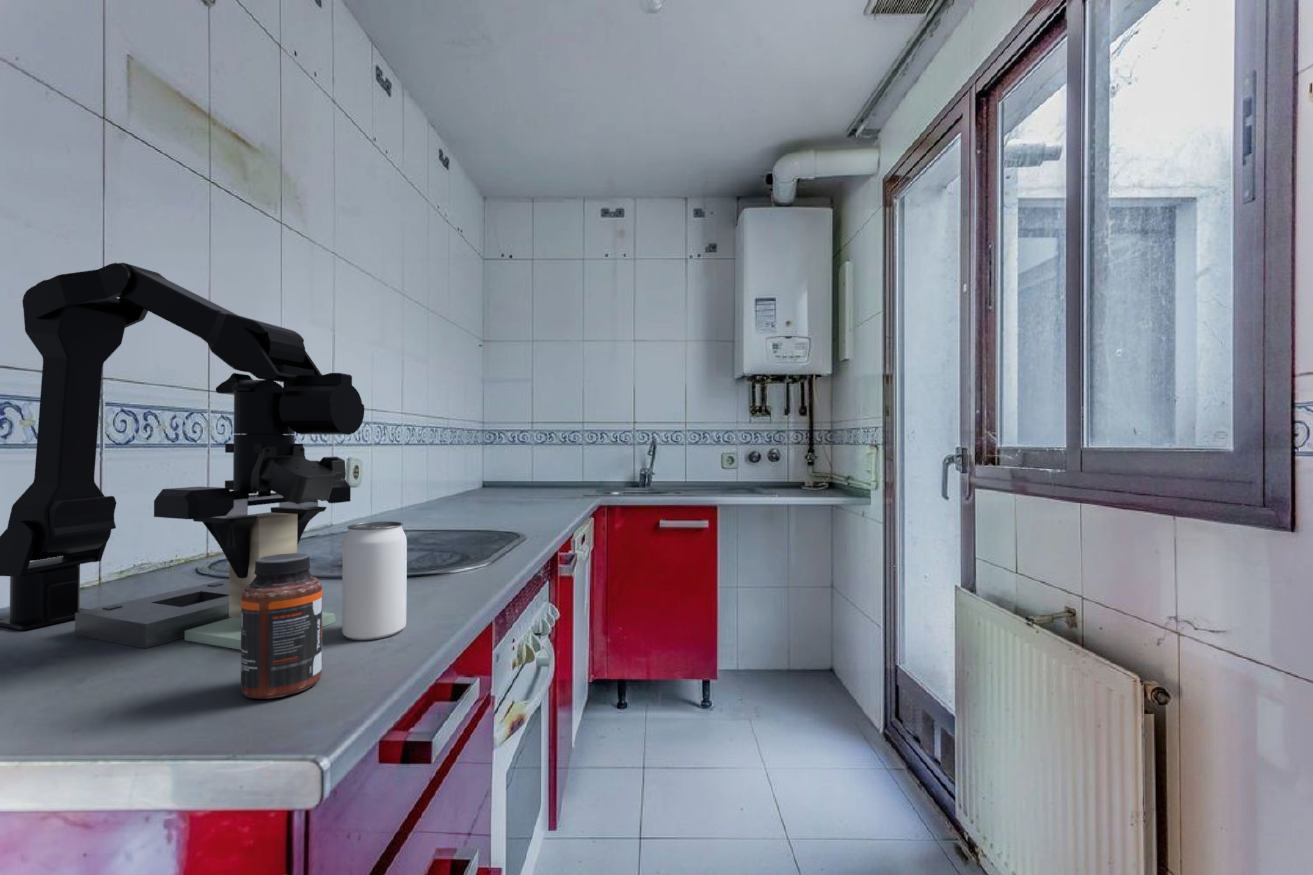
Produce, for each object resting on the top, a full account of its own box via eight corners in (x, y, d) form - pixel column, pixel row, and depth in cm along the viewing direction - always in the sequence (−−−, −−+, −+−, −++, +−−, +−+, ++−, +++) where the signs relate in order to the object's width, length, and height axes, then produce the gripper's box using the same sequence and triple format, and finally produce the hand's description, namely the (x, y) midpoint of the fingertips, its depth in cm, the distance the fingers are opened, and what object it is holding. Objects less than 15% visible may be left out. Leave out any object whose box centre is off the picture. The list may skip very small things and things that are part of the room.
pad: (184, 640, 61) (184, 630, 61) (274, 613, 71) (274, 605, 71) (250, 651, 58) (250, 641, 58) (335, 622, 68) (335, 613, 68)
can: (380, 643, 61) (381, 529, 61) (328, 639, 62) (328, 528, 62) (418, 624, 67) (418, 521, 67) (369, 621, 68) (370, 520, 68)
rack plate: (75, 635, 63) (75, 611, 63) (226, 597, 78) (226, 578, 78) (145, 648, 59) (145, 623, 59) (290, 606, 74) (290, 586, 74)
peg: (229, 616, 63) (229, 516, 63) (268, 605, 67) (269, 512, 68) (258, 620, 62) (258, 518, 62) (296, 609, 66) (297, 513, 66)
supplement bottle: (338, 678, 52) (339, 552, 52) (274, 707, 46) (276, 566, 46) (289, 669, 54) (290, 548, 54) (223, 696, 48) (224, 560, 48)
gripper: (229, 433, 53) (227, 601, 53) (385, 435, 71) (384, 562, 71) (151, 433, 57) (149, 590, 57) (318, 435, 75) (317, 555, 74)
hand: (263, 573), depth 65 cm, fingers closed on peg, 4 cm apart
